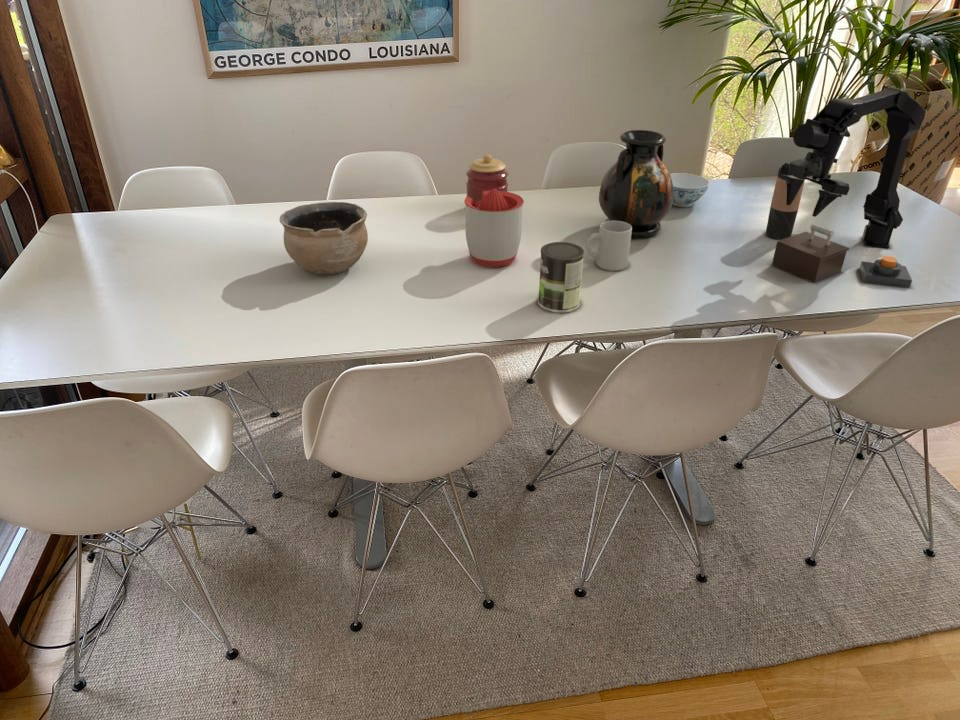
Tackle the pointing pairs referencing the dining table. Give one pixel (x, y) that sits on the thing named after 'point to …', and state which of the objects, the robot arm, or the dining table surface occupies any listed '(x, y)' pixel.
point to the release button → (888, 261)
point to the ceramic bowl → (325, 236)
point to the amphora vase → (638, 184)
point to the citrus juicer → (494, 227)
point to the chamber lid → (814, 243)
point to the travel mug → (782, 211)
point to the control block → (885, 274)
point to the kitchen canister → (485, 177)
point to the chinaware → (688, 188)
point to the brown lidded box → (807, 264)
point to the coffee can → (560, 277)
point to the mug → (611, 245)
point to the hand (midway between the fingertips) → (800, 210)
